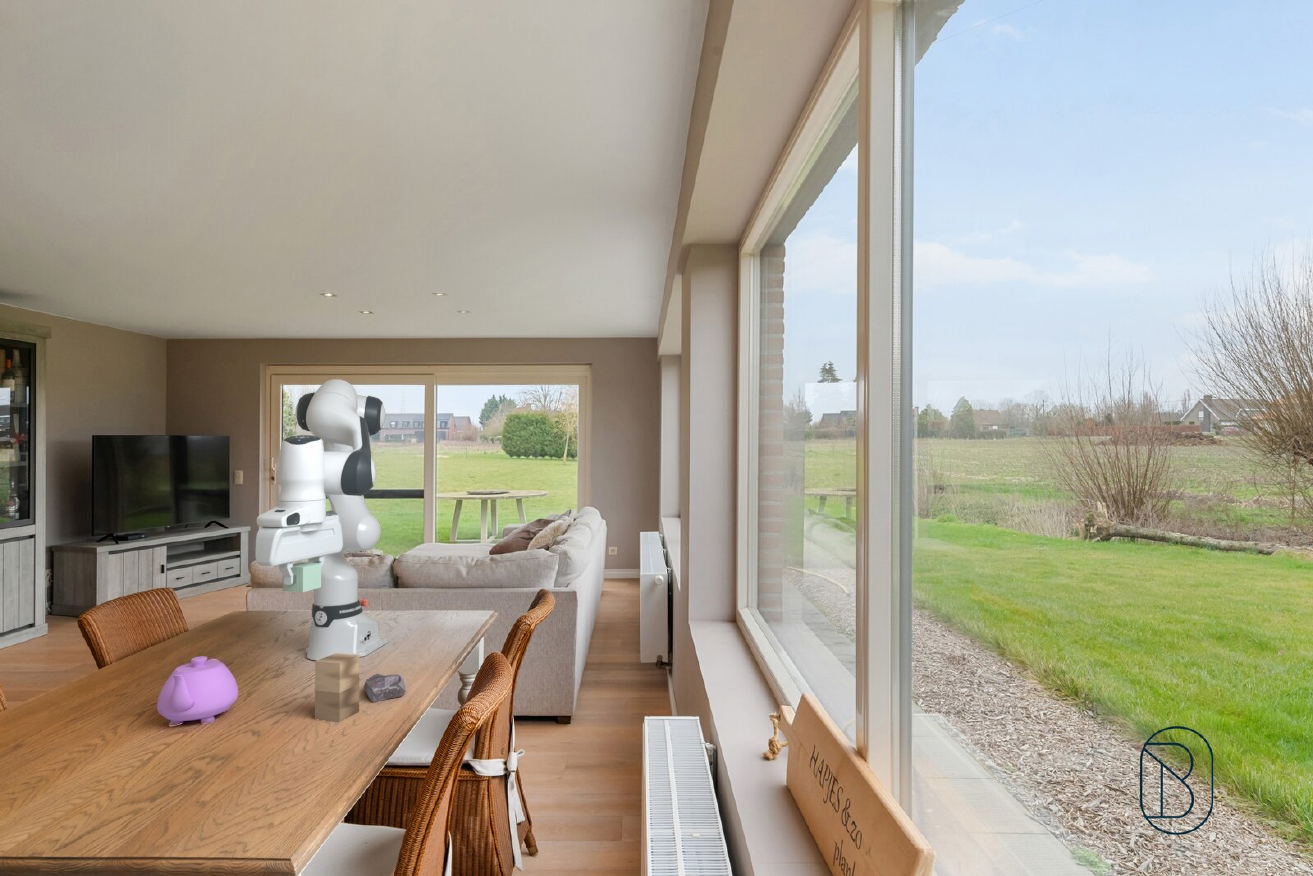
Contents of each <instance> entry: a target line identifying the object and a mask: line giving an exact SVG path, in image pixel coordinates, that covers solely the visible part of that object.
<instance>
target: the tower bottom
mask: <svg viewBox="0 0 1313 876" xmlns="http://www.w3.org/2000/svg"><path fill="white" fill-rule="evenodd" d="M358 713H360V683H359V684H357V685H355V686H353V687H351V688H349V689H347V690H345V691H343V692H340V693H336V692H326V691H316V690H315V689H314V720H315V719H319V720H318V721H322V720H325V721H324V722H331V721H332V722H333V723H342V722H343V721H345V720H347V719H348V718H351V717H353V716H354V715H356V714H358ZM344 719H345V720H344Z"/></svg>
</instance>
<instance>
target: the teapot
mask: <svg viewBox="0 0 1313 876" xmlns="http://www.w3.org/2000/svg"><path fill="white" fill-rule="evenodd" d="M190 661H191V662H188V663H185V664H182V665H179V666H177V667H176V668H174V670H173V671H172V672H171V673H170V675H169V677H168V679H166V682H165V683H164V685H163V686H162V688H161V689H160V693H159V695H158V698H157V704H156V710H157V712H158V713H159V715H161V716H162V717H163V718H165V719H166V720H169V721H170V722H169V723H168V724H169V725H177V724H180V723H182V724H183V723H184V722H185V721H186V722H187V721H196V720H200V724H201V723H211V722H214V721H215V722H216V719H215V716H216V715H219V714H223V713H222V712H224V711H226V710H229V709H230V708H231V706H233V705H234V703H235V702H236V701H237V699H238V697H239V686H238V684H237V681H236V679H235V676H234V675H233V674H232V672H231V671H230V669H229V668H228V666H227V665H225V664H224V663H223V662H222V661H220V660H219V659H217V658H209V659H208V656H202V655H201V656H195V657H192V658H191V659H190ZM226 712H227V711H226ZM224 713H225V712H224ZM215 722H214V723H215ZM211 724H212V723H211Z"/></svg>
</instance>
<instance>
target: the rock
mask: <svg viewBox="0 0 1313 876" xmlns="http://www.w3.org/2000/svg"><path fill="white" fill-rule="evenodd" d="M364 682H365V683H364V685H363V689H364V691H365V692H366V694H367V697H368V698H369V700H370V702H372V703H378V702H383V701H386V700H389V699H394V698H398V697H402V696H403V695H404V694H405V693H406V691H407V690H406V685H405V679H404V677H403V676H402V675H400V674H387V675H384V674H379V673H375V674H373V675H371V676H370V677H369V678H367V679H365V680H364Z"/></svg>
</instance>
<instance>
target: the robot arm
mask: <svg viewBox="0 0 1313 876" xmlns="http://www.w3.org/2000/svg"><path fill="white" fill-rule="evenodd" d="M294 412H295V419H296V422H297V425H298V426H299V427H300V428H301V429H302V430H304V431H306V432H310V433H311V434H312V435H309V434H304V435H301V434H300V435H293V436H292V435H291V436H288V437H286V438H284V439H282V441H281V444H280V450H279V456H278V467H277V468H278V469H277V480H278V484H279V495H278V499H277V506H274V507H272V508H271V509H269V510H267V511H265V512H263V513H262V514H259V515H258V516H257V517H256V525H257V527H260V528H259V529H258V531H256V536H255V552H254V553H255V554H254V555H255V556H254V557H255V560H256V563H257V564H258V566H261V567H275V566H278V568H279V571H280V572H281V574H282V577H283V576H284V584H285V585H292V584H295V583H296V575H293V573H292V570H291V568H292V567H293V564H294V562H295V563H296V562H299V561H305V560H308V563H321V588H317V589H313V603H312V604H311V618H312V621H311V624H310V628H309V629H310V630H309V636H308V637H309V639H308V646H307V647H306V648H305V653H306V658H307V659H309V660H310V661H311V660H312V661H317V660H320V659H322V658H325V657H327V656H330V655H332V654H335V653H339V654H351V655H359V658H360V657H365V656H368V655H369V654H371V653H373V652H374V651H376V650H378V649H379V648H380V647H383V646H384V645H386V644H387V643H389V639H388V638H386V637H383V636H380V629H379V624H378V623H377V621H376V620H375V619H373V618H371V617H369V616H368V615H367V614H366V613H364V612H363V608H362V607H368V606H369V600H368V598H367V599H366V598H365V599H363V598H361V599H359V573H358V571H357V569H355V567H354V566H353V565H351V564H350V563H349V562H348V560H347V557H346V556H345V553H359V552H364V551H369V550H371V549H374V548H375V546H377V544H378V543H379V540H380V539H381V534H382V528H381V524H380V522H379V520H378V519H377V517H376V516H375V515H373V514H372V512H371V511H370V509H369V507H368V505H367V503H366V499H365V496H364V495H365V494H367V493H368V492H369V491H370V490H372V489H373V487H374V486H375V485H374V484H375V483H376V477H377V471H376V466H375V461H374V459H373V457H372V447H371V436H374V435H376V434H378V432H380V431H381V430H382V429H383V428H382V427H383V426H384V424H385V423H386V422H385V421H386V414H387V413H386V409H385V405H384V403H383V401H382V400H381V399H380V398H378V397H376V396H372V395H368V396H366V395H365V396H364V395H362V394H361V395H360V394H357V390H356V389H355V387H354V386H353V385H352V384H351V383H349V382H348V381H346V380H344V379H339V378H338V379H337V378H334V379H329V380H326V381H325V382H324V383H322V384H321V385H320V386H319V388H317V390H316V391H315V392H308V393H305V394H303V395H302V396H301V397H300V398H299V399H298V402H297V404H296V407H295V411H294ZM327 499H328V502H329V504H330V509H331V510H328V511H327Z"/></svg>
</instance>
